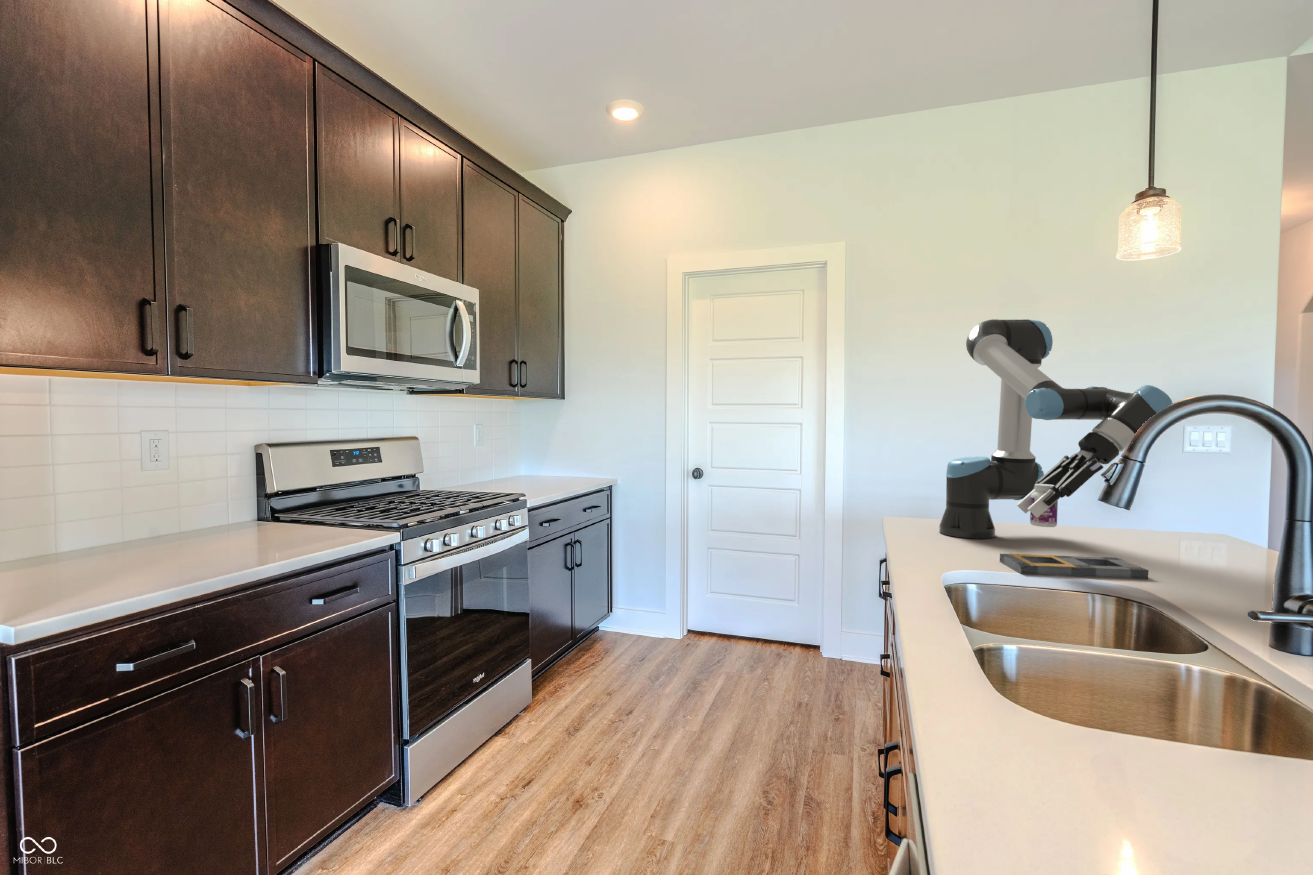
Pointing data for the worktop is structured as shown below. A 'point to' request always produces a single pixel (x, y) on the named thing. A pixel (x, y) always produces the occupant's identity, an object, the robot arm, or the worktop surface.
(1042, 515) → the pill bottle
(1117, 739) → the worktop surface
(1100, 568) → the rail plate
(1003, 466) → the robot arm
